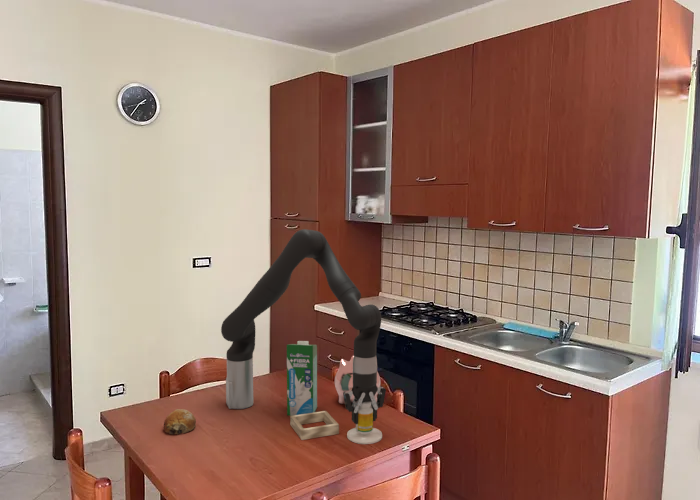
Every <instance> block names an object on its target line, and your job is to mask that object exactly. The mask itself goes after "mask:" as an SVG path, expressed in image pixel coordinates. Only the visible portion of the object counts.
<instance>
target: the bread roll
mask: <svg viewBox="0 0 700 500" xmlns="http://www.w3.org/2000/svg"><path fill="white" fill-rule="evenodd" d="M196 423H197V420H196V417H195V415H194V414H193V413H192V412H191V411H189V410H187V409H182V408H177V409H174V410H173V411H172V412H170V413H169V415H167V416H166V417H165V419H164V421H163V430H164V432H165V433H166V434H168V433H169V434H168V435H174V434H177V435H182V434H181V433H183V434H185V433H189V431H190V432H192V430H194V429H195V428H196V425H197V424H196Z"/></svg>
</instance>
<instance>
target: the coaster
mask: <svg viewBox="0 0 700 500" xmlns="http://www.w3.org/2000/svg"><path fill="white" fill-rule="evenodd" d="M346 433H347V434H346V438H347V439H348V440H349V441H350V442H353V443H355V444H359V445H371V444H376V443H378V442H380V441H381V440H382V439H383V433H382V431H381V430H380V429H378V428H376V427H373V431H372V432H371V433H369V434H361V433H358V432H357V431H356V427H353V428H351V429H350V430H348V431H347V432H346Z"/></svg>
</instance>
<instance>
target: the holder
mask: <svg viewBox="0 0 700 500" xmlns="http://www.w3.org/2000/svg"><path fill="white" fill-rule="evenodd" d="M289 417H290V418H289V419H290V423H289V424H290V426H291V428H292V429H293V430H294V432H295V433H296V434H297V436H298V438H300V440H301V441H304V440H309V439H311V440H312V439H315V438H316V439H317V438H321V437H327V436H333V435H339V434H340V423H338V422H337V421H336V420H335V419H334V418H333V416H331V414H330V413H329V412H328V411H327V410H322V411H315V412H313V413H307V414H300V415H294V416H291V415H289ZM319 422H320V423H321V422H324V423H325V424H324V425H319V426H318V425H317V426H313V427H307V428H304V427H303V425H307V424H313V423H319Z"/></svg>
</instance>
